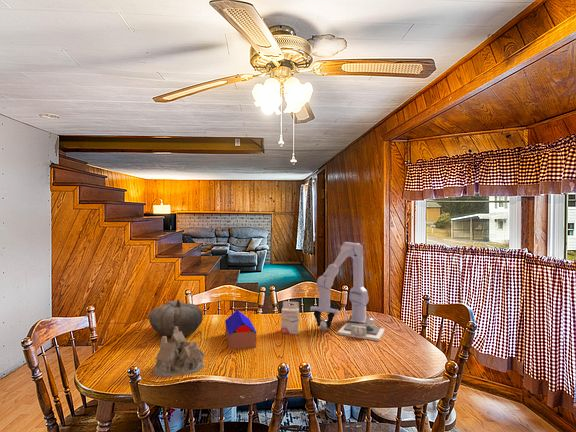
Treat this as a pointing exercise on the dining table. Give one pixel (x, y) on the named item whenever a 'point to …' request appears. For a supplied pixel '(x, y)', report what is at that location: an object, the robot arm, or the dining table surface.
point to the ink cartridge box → (290, 318)
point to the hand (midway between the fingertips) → (324, 326)
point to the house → (240, 325)
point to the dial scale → (361, 331)
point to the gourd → (175, 318)
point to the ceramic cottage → (178, 356)
